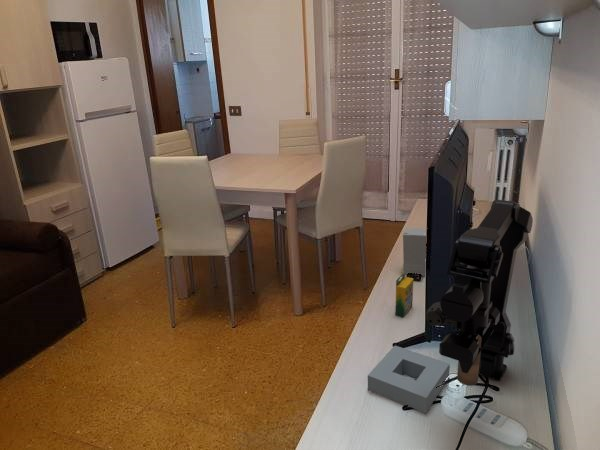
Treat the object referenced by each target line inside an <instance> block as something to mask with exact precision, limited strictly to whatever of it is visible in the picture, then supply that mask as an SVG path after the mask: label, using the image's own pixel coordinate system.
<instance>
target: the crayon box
mask: <svg viewBox="0 0 600 450" xmlns="http://www.w3.org/2000/svg"><path fill="white" fill-rule="evenodd" d="M395 285H396V286H395V306H394V307H395V312H394V313H395V314H394V316H396V317H401V318H405V316H406V315H407V314H408V312H409V311H410V310H411V309H412V308H413V298H414V296H413V295H414V278H413V277H410V276H409V277H408V276H406V274H405V271H404V270H403V272H402V273H401V274H400V275H399V277H398V278H397V279H396V280H395Z"/></svg>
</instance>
